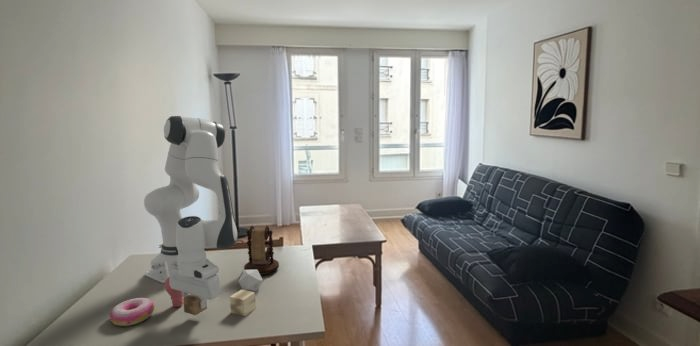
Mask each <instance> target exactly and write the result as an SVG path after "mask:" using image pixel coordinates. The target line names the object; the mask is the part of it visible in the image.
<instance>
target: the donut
mask: <svg viewBox="0 0 700 346" xmlns="http://www.w3.org/2000/svg"><path fill="white" fill-rule="evenodd" d="M154 310H155V303H154V302H153V301H152V300H151V299H149V298H146V297H136V298H130V299H128V300H125V301H122V302H120V303H118V304H116V305H115V306H114V307H113V308H112V309H111V311H110V314H109V319H110V322H111V323H112V324H113V325H115V326H119V327H128V326H129V327H130V326H134V325H136V324H137V325H138V324H139V323H142V322H143V321H145V320H146V319H148V318H150V316H151V315H152V314H153V312H154Z"/></svg>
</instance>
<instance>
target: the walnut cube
mask: <svg viewBox="0 0 700 346" xmlns="http://www.w3.org/2000/svg"><path fill="white" fill-rule="evenodd" d="M182 298H183V311H184V313H187V314H190V315H193V316H197V315H198V314H200V313H202V312H203V311H206V310H207V309H208V306H207V302H206V307H205V308H203V309H202V308H199V303H200V302H201V300H202V299H200V297H199V296H195V295H192V294H189V295H188V296H186V297H182Z"/></svg>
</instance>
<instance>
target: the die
mask: <svg viewBox="0 0 700 346" xmlns="http://www.w3.org/2000/svg"><path fill="white" fill-rule="evenodd" d="M262 282H263V278H262V275H261V274H259V272H258V270H257V269H256V270H244V269H243V271H242V273H241V276H240V277H239V279H238V284H239V286H240V287H241V289H242V290H246V291H251V292H258V290H259V288H260V286H261V284H262Z"/></svg>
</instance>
